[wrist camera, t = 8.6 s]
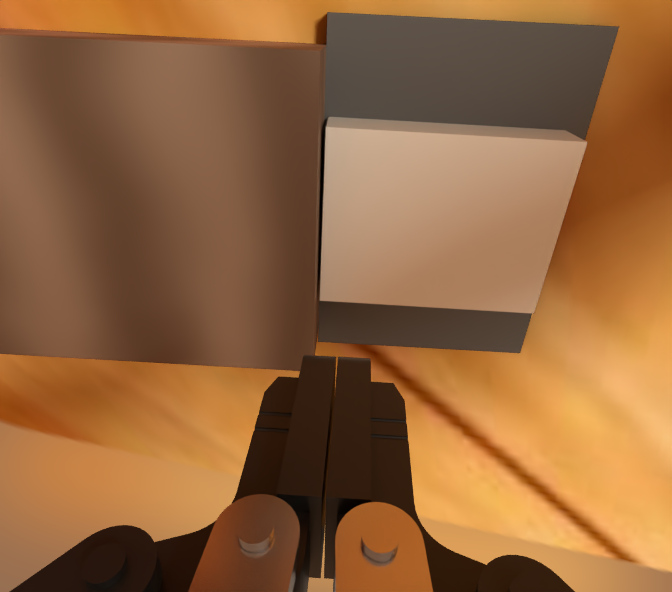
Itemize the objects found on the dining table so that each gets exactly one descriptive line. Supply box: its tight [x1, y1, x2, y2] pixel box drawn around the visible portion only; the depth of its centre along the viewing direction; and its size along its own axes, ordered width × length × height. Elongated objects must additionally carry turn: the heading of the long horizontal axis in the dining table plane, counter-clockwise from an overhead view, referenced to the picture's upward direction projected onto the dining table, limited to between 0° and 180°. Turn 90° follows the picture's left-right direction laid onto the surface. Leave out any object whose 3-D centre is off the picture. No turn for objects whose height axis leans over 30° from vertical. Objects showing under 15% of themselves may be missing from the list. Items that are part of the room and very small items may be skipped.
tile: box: [320, 117, 588, 314], centre depth 19 cm, size 9×7×2 cm
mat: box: [318, 12, 619, 353], centre depth 20 cm, size 10×14×1 cm
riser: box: [0, 28, 326, 371], centre depth 18 cm, size 14×12×4 cm
